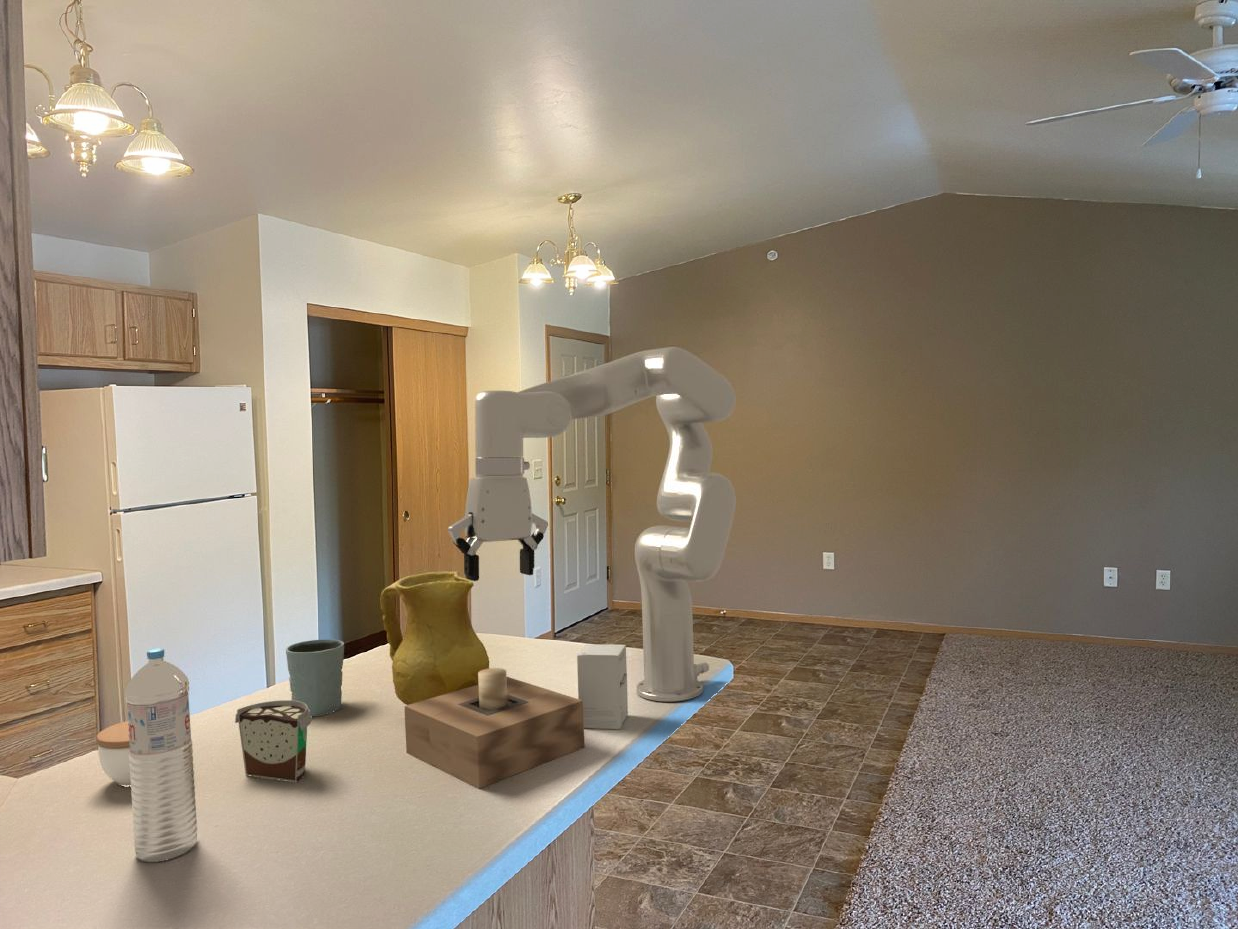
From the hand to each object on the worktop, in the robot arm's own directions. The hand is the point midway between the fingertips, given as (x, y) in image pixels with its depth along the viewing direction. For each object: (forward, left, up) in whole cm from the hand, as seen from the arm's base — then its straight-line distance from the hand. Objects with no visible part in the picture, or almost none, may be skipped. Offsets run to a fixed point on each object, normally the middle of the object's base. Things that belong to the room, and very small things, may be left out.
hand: (500, 577), depth 130 cm
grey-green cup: (+12, -42, -28) cm, 52 cm away
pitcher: (-2, -22, -28) cm, 36 cm away
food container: (+28, -18, -28) cm, 43 cm away
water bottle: (+48, -5, -28) cm, 56 cm away
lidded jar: (+44, -32, -28) cm, 61 cm away
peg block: (+2, 0, -27) cm, 27 cm away
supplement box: (-18, +4, -28) cm, 33 cm away
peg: (+2, 0, -22) cm, 22 cm away
